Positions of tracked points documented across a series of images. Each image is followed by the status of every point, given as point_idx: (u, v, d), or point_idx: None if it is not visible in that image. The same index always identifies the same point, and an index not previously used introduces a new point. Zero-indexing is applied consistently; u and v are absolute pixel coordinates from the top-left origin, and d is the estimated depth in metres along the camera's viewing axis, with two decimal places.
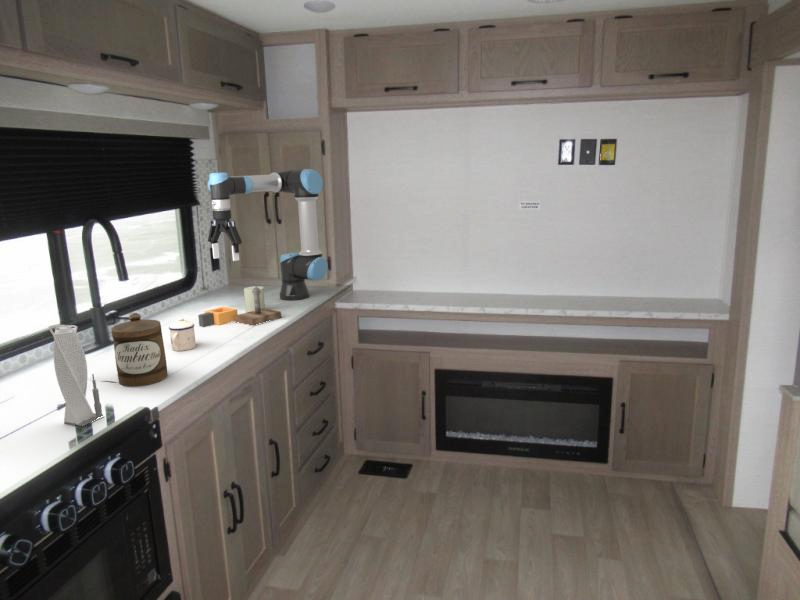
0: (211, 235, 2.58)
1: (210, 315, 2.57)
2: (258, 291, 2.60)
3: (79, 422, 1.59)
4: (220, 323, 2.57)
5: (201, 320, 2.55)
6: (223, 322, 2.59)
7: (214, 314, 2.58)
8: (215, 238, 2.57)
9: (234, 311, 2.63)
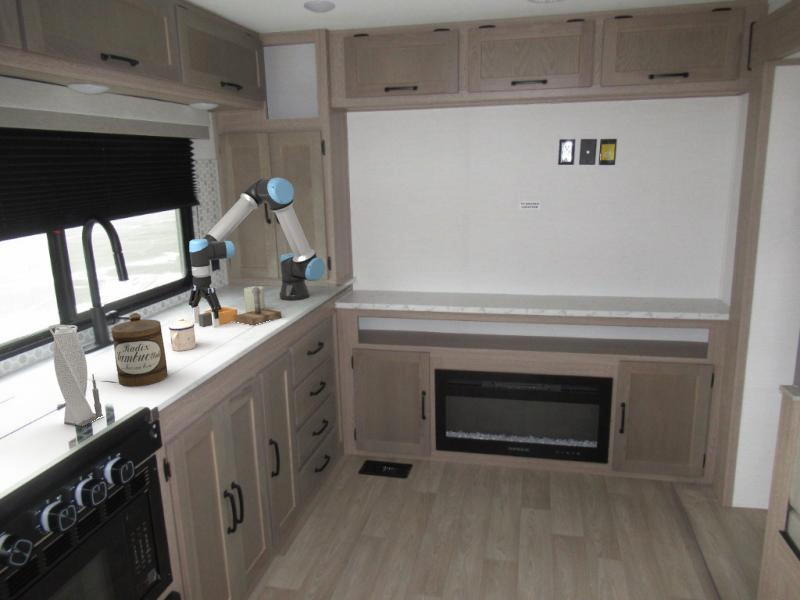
0: (192, 299, 2.59)
1: (210, 315, 2.57)
2: (258, 291, 2.60)
3: (79, 422, 1.59)
4: (220, 323, 2.57)
5: (201, 320, 2.55)
6: (223, 322, 2.59)
7: None
8: (196, 302, 2.59)
9: (234, 311, 2.63)
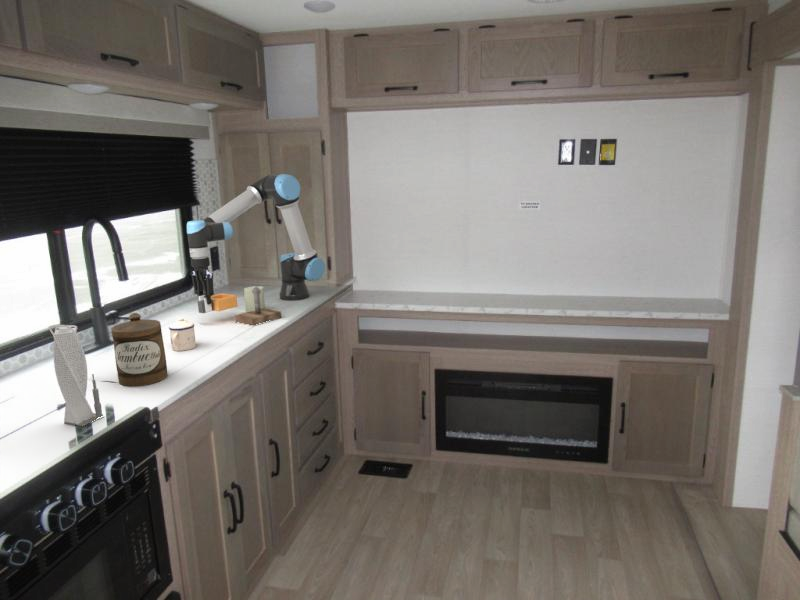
0: (196, 286, 2.56)
1: None
2: (258, 291, 2.60)
3: (79, 422, 1.59)
4: (219, 309, 2.56)
5: (201, 306, 2.54)
6: (222, 308, 2.57)
7: (213, 300, 2.57)
8: (200, 288, 2.55)
9: (233, 297, 2.61)
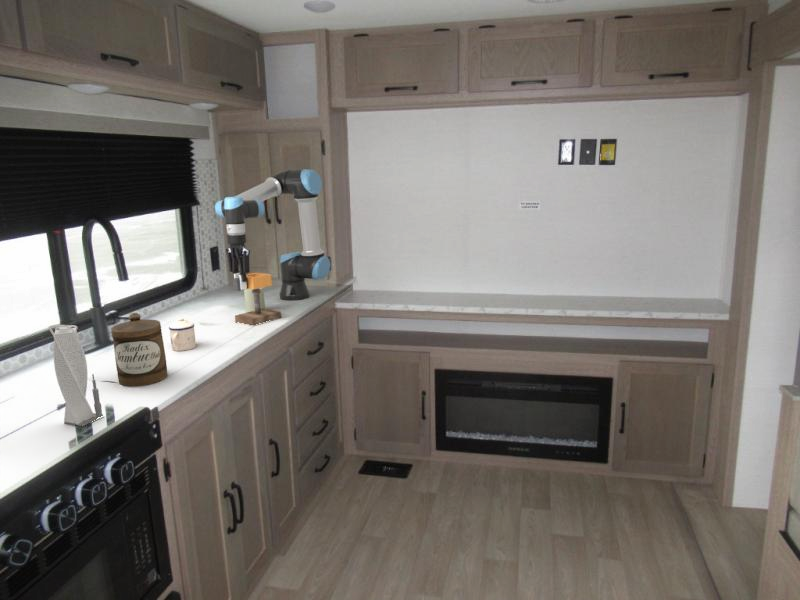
0: (231, 263, 2.54)
1: None
2: (258, 291, 2.60)
3: (79, 422, 1.59)
4: (254, 287, 2.54)
5: (236, 283, 2.51)
6: (257, 286, 2.55)
7: (248, 278, 2.54)
8: (235, 266, 2.53)
9: (268, 276, 2.59)
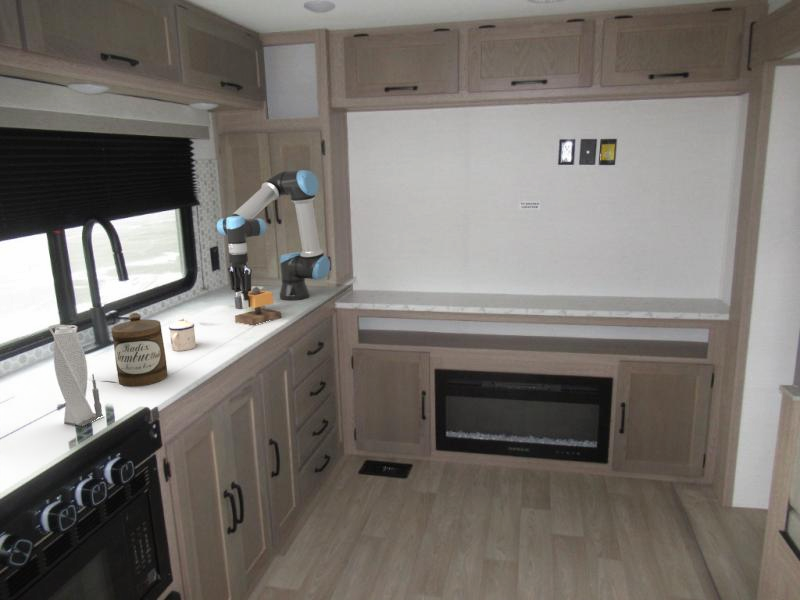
0: (233, 282, 2.56)
1: None
2: (258, 291, 2.60)
3: (79, 422, 1.59)
4: (256, 306, 2.56)
5: (238, 302, 2.53)
6: (259, 305, 2.57)
7: (250, 297, 2.56)
8: (237, 284, 2.55)
9: (270, 294, 2.61)
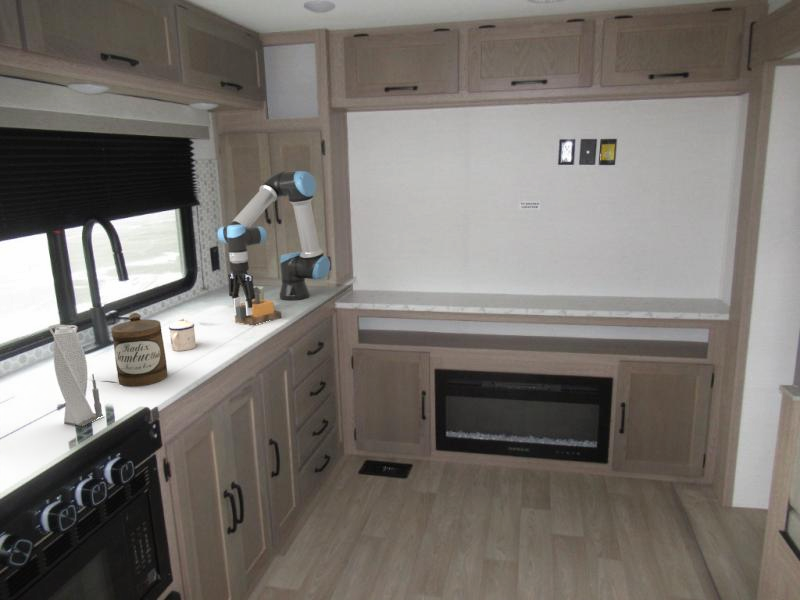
0: (231, 289, 2.57)
1: None
2: (258, 291, 2.60)
3: (79, 422, 1.59)
4: (257, 315, 2.57)
5: (239, 312, 2.54)
6: (260, 314, 2.58)
7: None
8: (235, 291, 2.56)
9: (270, 303, 2.62)
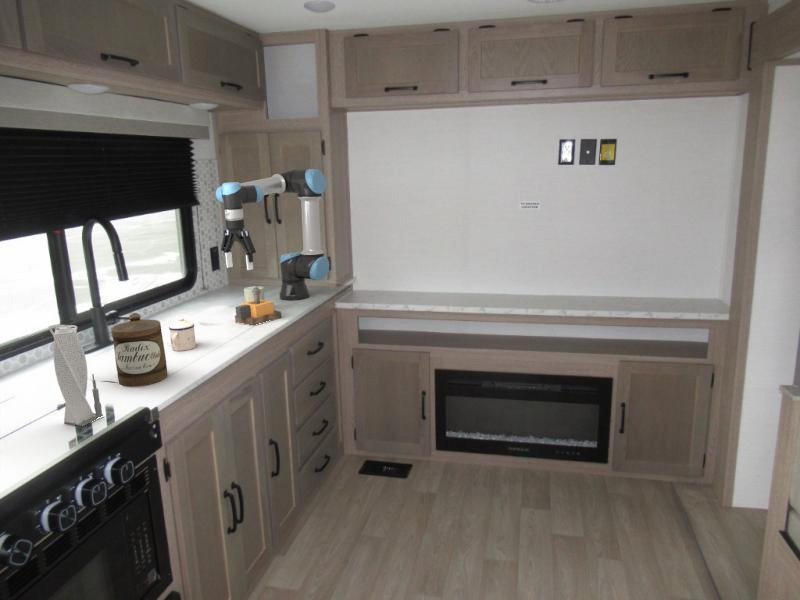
0: (224, 244, 2.58)
1: (247, 307, 2.56)
2: (258, 291, 2.60)
3: (79, 422, 1.59)
4: (257, 315, 2.57)
5: (239, 312, 2.54)
6: (260, 314, 2.58)
7: (251, 306, 2.57)
8: (228, 247, 2.58)
9: (270, 303, 2.62)
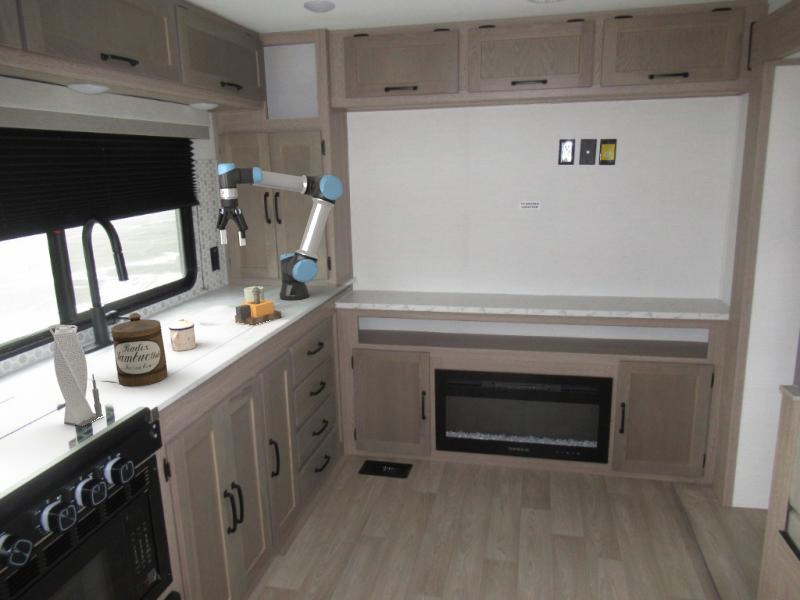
0: (219, 222, 2.76)
1: (247, 307, 2.56)
2: (258, 291, 2.60)
3: (79, 422, 1.59)
4: (257, 315, 2.57)
5: (239, 312, 2.54)
6: (260, 314, 2.58)
7: (251, 306, 2.57)
8: (223, 225, 2.75)
9: (270, 303, 2.62)
